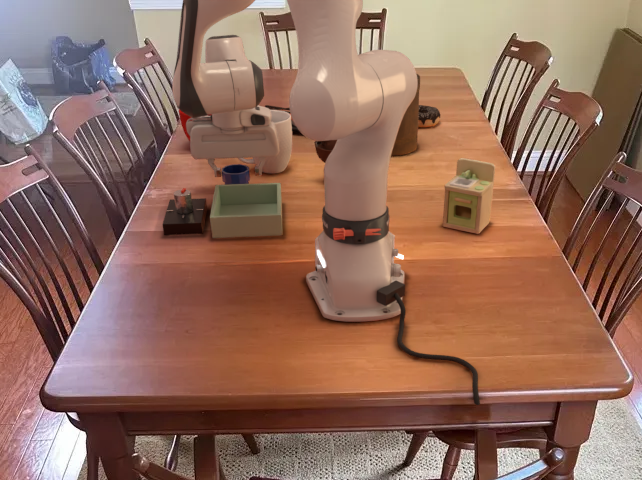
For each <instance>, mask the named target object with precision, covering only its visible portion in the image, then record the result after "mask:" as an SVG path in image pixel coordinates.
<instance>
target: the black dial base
mask: <svg viewBox="0 0 642 480" xmlns="http://www.w3.org/2000/svg"><path fill="white" fill-rule="evenodd" d="M192 204H193V211H192V212H191V213H187V214H180V213H177V211H176V206H175V200H174V198H171V199H169V200H168V204H167V207H166V211H165V215H164V218H163V221H162V230H163V235H164V236H177V235H179V236H180V235H203V234H204V229H205V223H206V220H207V219H206V218H207V213H208V203H207V198H206V197H204V198H201V197H200V198H192Z"/></svg>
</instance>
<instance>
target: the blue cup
mask: <svg viewBox="0 0 642 480" xmlns="http://www.w3.org/2000/svg"><path fill="white" fill-rule="evenodd" d="M250 171H251V170H250V166H248V165H246V164H241V163H233V164H228V165H225V166H223V167H221V179H222V182H223V183H224V185H229V184H250V181H251V173H250Z"/></svg>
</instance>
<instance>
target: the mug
mask: <svg viewBox="0 0 642 480" xmlns="http://www.w3.org/2000/svg"><path fill="white" fill-rule="evenodd" d="M270 111H271V115H272V119H271V121H272V122H273V123H274V124H275V127H276V130H277V134H278V139H279V148H280V152H279V154H278V155H277V156H274V157H265V162H264V164H263V166H262V168H261V170H262V173H263V174H264V173H265V174H280V173H282V172H284V171H285V170H286V169H287V167H288V165H289V163H290V161H291V157H292V152H293V132H292V124H291V115H290V114H289V113H287V112H285V111H286V110H270ZM237 160H238V161H240V162H242V163H243V164H248V165H255V166H259V163H260V161H259V157H251V158H250V159H248V158H237Z"/></svg>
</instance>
